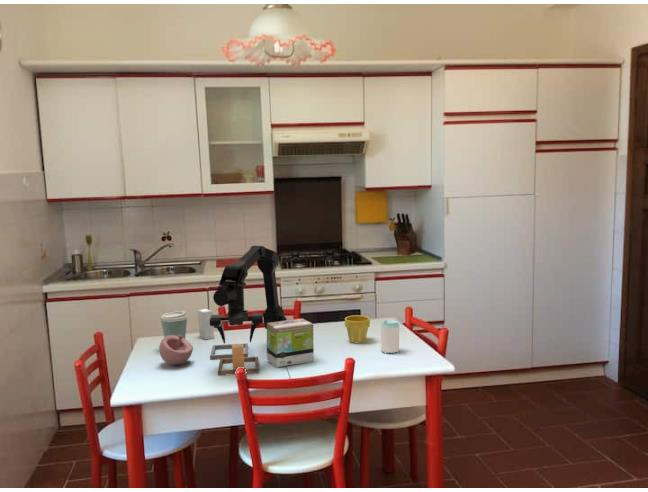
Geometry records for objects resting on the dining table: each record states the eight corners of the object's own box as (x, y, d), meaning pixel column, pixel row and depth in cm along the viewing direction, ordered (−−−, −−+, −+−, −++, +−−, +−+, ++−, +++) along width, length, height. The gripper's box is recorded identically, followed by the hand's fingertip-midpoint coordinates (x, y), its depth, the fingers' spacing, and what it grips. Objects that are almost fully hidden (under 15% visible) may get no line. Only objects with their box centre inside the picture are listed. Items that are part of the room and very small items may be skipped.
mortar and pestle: (182, 370, 208) (181, 339, 206) (153, 368, 211) (151, 337, 210) (199, 360, 219) (197, 330, 218) (171, 358, 223) (169, 329, 221)
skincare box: (214, 338, 249) (213, 310, 247) (205, 340, 246) (204, 312, 244) (207, 335, 253) (206, 308, 252) (198, 337, 250) (197, 309, 249)
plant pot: (374, 339, 241) (374, 316, 240) (362, 346, 233) (362, 322, 232) (352, 336, 247) (352, 314, 246) (340, 342, 238) (340, 319, 237)
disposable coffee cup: (162, 354, 227) (160, 317, 225) (161, 347, 237) (159, 311, 235) (190, 351, 230) (188, 314, 228) (187, 344, 240) (185, 308, 238)
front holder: (258, 360, 217) (257, 356, 217) (258, 372, 204) (258, 368, 203) (220, 362, 216) (220, 358, 216) (217, 375, 202) (217, 371, 202)
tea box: (277, 368, 208) (275, 328, 206) (266, 361, 217) (265, 322, 215) (314, 361, 215) (313, 322, 213) (303, 354, 224) (302, 317, 222)
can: (386, 355, 221) (386, 324, 219) (377, 350, 227) (377, 320, 226) (402, 352, 223) (402, 322, 222) (393, 347, 230) (393, 318, 228)
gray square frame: (248, 346, 235) (247, 343, 235) (247, 357, 221) (247, 353, 221) (213, 348, 233) (212, 345, 233) (210, 359, 219) (210, 355, 219)
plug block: (244, 365, 212) (243, 344, 211) (244, 369, 208) (243, 347, 207) (233, 366, 212) (232, 344, 211) (232, 369, 208) (232, 348, 207)
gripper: (207, 306, 198) (209, 350, 200) (262, 303, 200) (263, 347, 202) (210, 299, 209) (211, 341, 211) (262, 297, 211) (263, 338, 213)
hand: (237, 342), depth 209 cm, fingers open, 9 cm apart
